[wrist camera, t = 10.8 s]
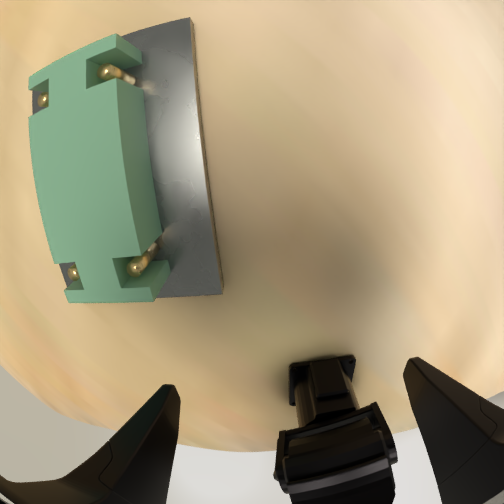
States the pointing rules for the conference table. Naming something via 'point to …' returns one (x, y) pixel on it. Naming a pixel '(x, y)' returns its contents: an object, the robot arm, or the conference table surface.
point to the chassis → (170, 160)
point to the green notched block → (96, 174)
